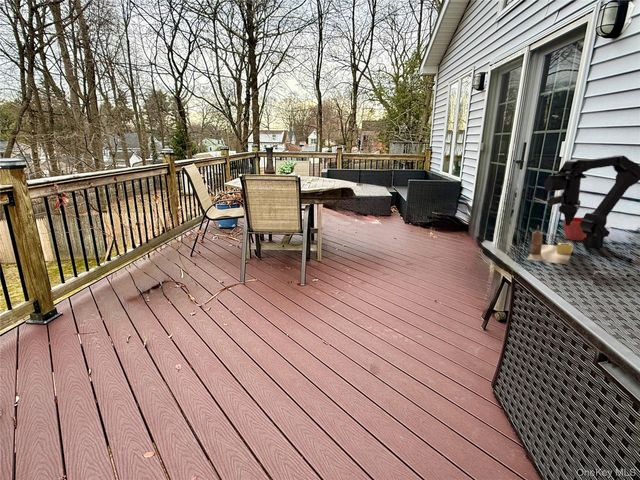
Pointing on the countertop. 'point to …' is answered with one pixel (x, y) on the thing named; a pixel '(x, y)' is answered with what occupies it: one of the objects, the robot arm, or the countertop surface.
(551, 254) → the panel
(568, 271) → the countertop surface
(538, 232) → the awl
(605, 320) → the countertop surface
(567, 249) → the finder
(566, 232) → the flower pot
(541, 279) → the countertop surface
